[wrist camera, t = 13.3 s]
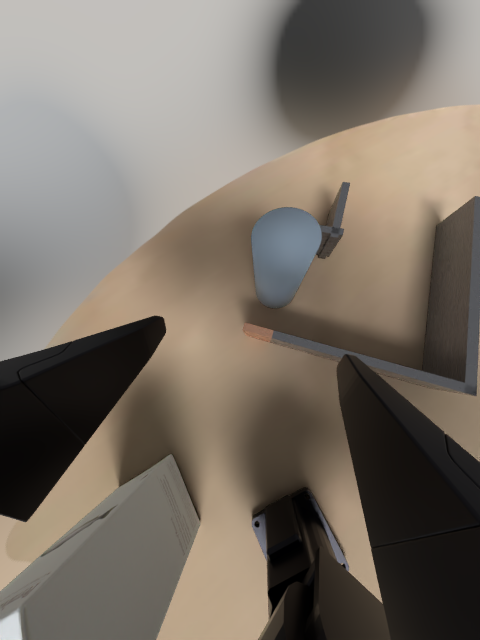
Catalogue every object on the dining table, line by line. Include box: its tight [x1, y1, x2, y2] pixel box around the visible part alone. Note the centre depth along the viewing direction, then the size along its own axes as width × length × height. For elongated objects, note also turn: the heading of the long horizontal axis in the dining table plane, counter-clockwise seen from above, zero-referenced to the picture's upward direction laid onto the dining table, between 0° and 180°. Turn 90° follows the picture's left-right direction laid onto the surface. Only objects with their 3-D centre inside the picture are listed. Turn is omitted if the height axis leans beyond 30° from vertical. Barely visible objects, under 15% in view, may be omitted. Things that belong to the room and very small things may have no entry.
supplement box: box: [0, 454, 200, 640], centre depth 12 cm, size 7×7×13 cm
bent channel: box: [243, 182, 480, 396], centre depth 19 cm, size 20×20×4 cm
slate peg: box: [251, 207, 322, 308], centre depth 17 cm, size 5×5×10 cm
